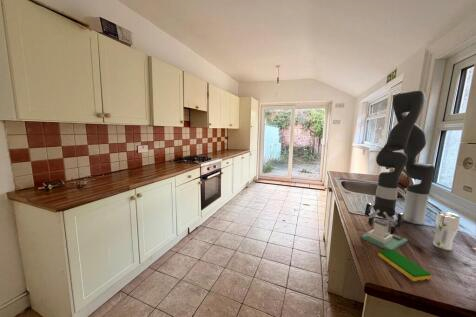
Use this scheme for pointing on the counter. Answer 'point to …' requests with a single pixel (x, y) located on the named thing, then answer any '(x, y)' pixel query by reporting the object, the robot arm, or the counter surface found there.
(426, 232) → the counter surface
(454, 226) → the beer glass
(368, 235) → the board
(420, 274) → the dish sponge
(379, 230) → the plug
